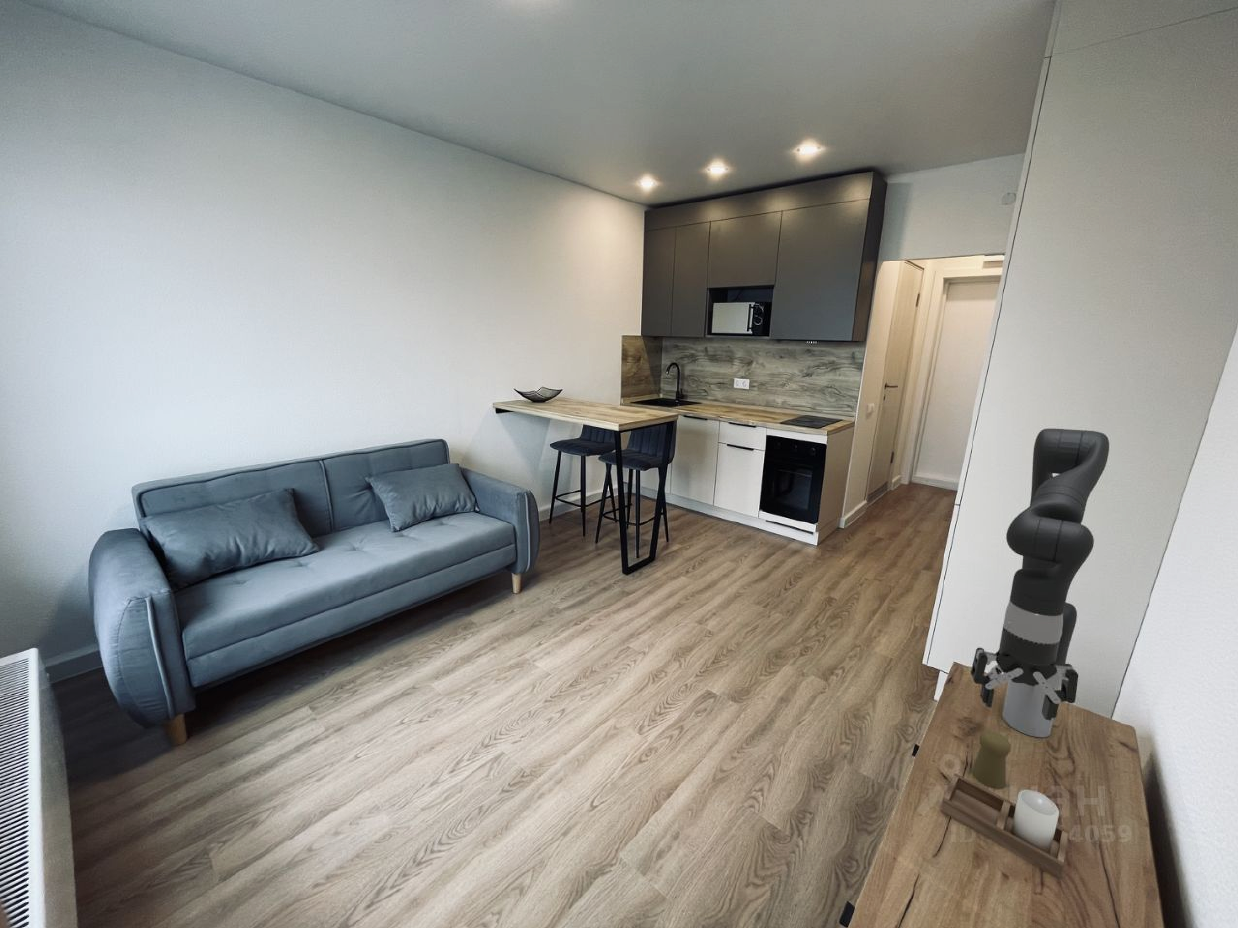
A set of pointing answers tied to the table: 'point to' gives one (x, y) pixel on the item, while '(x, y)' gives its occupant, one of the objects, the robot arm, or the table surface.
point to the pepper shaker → (992, 760)
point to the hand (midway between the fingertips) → (1015, 710)
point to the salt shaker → (1035, 820)
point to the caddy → (999, 822)
